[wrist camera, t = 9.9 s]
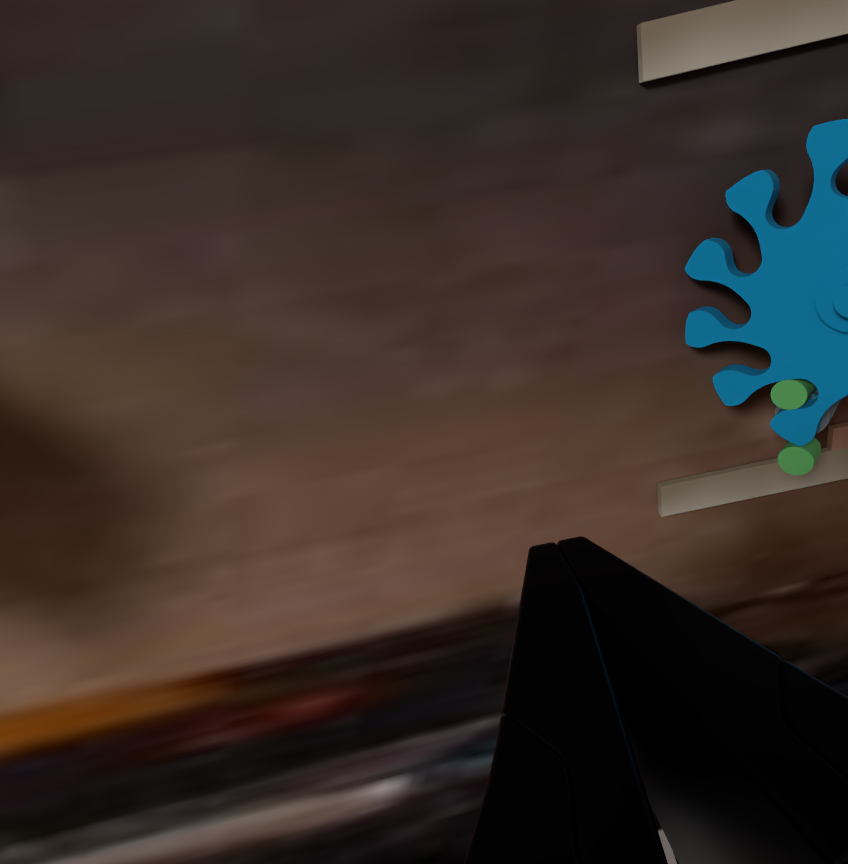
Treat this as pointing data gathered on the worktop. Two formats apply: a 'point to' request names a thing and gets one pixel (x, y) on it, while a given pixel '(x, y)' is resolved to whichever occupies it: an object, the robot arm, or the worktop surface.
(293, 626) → the worktop surface
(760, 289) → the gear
